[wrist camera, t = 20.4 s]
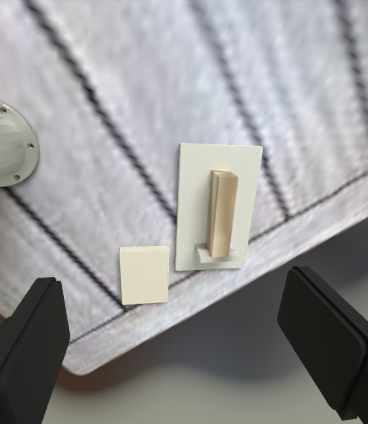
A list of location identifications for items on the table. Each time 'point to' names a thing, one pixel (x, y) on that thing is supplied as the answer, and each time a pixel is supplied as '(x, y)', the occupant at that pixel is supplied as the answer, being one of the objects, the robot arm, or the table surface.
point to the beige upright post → (220, 219)
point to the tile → (144, 274)
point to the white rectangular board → (199, 199)
